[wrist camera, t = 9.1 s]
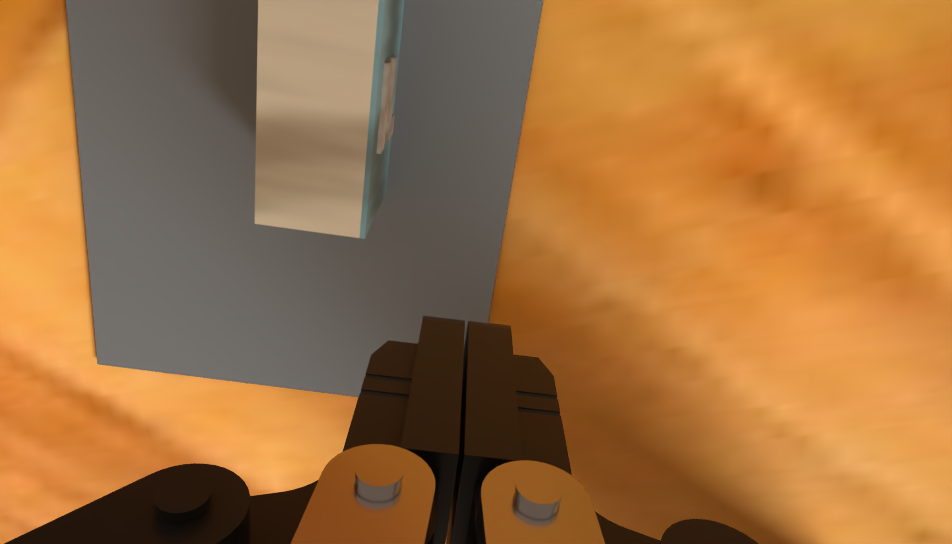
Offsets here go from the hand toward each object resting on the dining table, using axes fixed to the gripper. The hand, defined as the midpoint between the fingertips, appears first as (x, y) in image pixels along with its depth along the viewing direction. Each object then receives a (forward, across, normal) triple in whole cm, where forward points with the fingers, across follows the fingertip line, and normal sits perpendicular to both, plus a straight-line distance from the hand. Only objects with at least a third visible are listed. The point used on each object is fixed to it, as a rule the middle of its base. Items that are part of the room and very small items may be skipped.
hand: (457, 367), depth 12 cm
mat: (+19, +8, +3) cm, 21 cm away
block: (+16, +6, +3) cm, 17 cm away
